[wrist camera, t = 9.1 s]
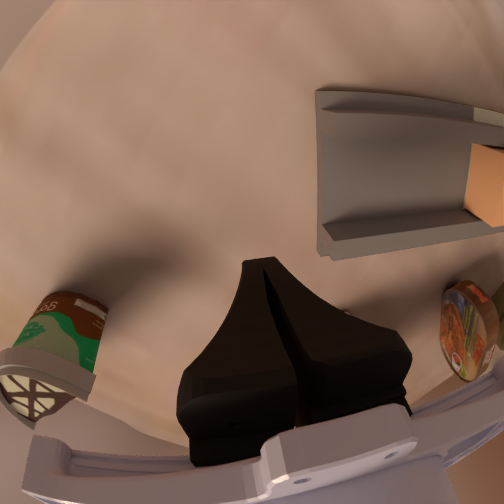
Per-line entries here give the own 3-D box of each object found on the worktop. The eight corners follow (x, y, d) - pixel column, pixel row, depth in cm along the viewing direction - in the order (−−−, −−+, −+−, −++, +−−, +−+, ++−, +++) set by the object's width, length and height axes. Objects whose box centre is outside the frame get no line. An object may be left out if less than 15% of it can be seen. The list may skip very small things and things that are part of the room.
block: (499, 203, 22) (526, 221, 19) (463, 206, 22) (492, 227, 18) (509, 146, 19) (539, 159, 16) (472, 141, 19) (506, 155, 15)
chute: (496, 223, 25) (517, 238, 22) (316, 250, 24) (331, 275, 21) (513, 116, 19) (538, 125, 16) (314, 90, 17) (335, 92, 14)
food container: (63, 253, 21) (9, 343, 12) (118, 300, 24) (90, 399, 15) (13, 320, 24) (-23, 394, 15) (57, 354, 26) (32, 431, 18)
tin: (442, 274, 27) (488, 327, 20) (463, 262, 27) (510, 310, 20) (437, 351, 35) (465, 395, 28) (454, 341, 35) (483, 383, 28)
